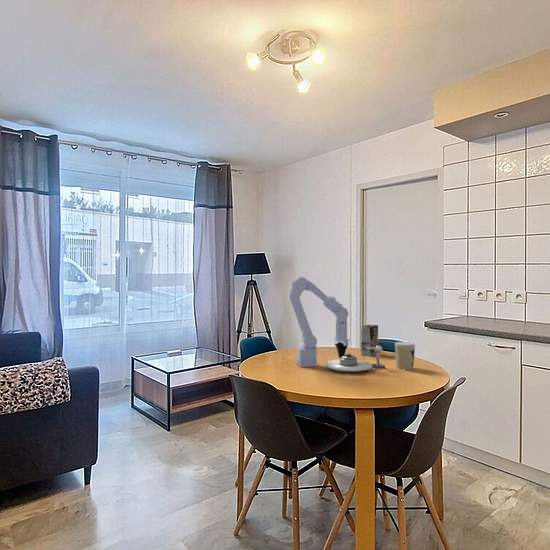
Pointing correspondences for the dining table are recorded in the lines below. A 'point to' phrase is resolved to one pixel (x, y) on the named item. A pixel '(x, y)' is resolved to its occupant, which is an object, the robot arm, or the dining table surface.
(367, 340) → the coffee box
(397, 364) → the coffee cup
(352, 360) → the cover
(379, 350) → the dial gauge
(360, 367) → the platter
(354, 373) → the turntable base
